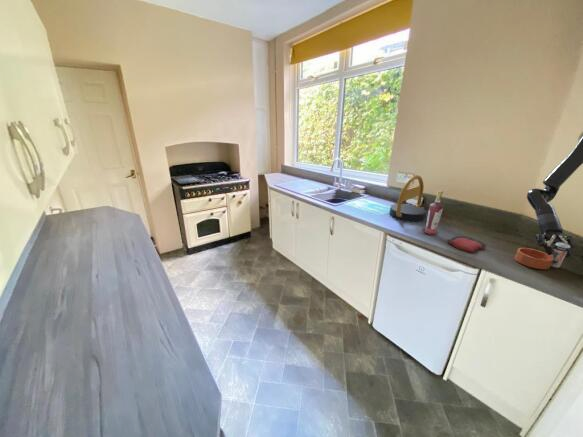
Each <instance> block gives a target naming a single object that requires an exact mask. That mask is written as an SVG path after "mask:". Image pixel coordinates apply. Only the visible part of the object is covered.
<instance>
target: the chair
mask: <svg viewBox="0 0 583 437" xmlns="http://www.w3.org/2000/svg"><path fill="white" fill-rule="evenodd" d="M415 180H418V184H419V185H415V186H412V187H410V185H411V184H412V182H414V181H415ZM424 188H425V186H424V180H423V177H422V176H421V175H419V174H415V175H413V176H411V177H409V179H407V181H406V182H405V184H404V185H403V186H402V189H401V191H400V193H399V197H398V200H397V203H395V204H391V205H390V208H389V212H388V215H389V216H390V217H391V216H392V217H391V218H393V219H395V218H396V219H395V220H398V219H399V220H398V221H401V220H403V221H402V222H407V221H409V222H408V223H421V222H424V221H425V220H424V219H426V216H427V210H426V209H425V208H423V207H420V206H421V204H422V200H423V194H424ZM416 197H417V201H416V205H414V204H408V203H407V204H406V203H403V202H405V201H408V200H411V199H414V198H416ZM423 220H424V221H423ZM420 221H421V222H420Z"/></svg>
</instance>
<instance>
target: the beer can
mask: <svg viewBox="0 0 583 437" xmlns="http://www.w3.org/2000/svg"><path fill="white" fill-rule="evenodd" d="M569 248H570V247H569V245H568V244H566V243H563V242H557V243H554V245H553V247H552V252H553V254H552V255H551V256H552V257H553V258H554V259H553V261H552V264H551V266H550V268H551V267H552V268H555V269H557V268H561V265H562V263H563V261H564V259H565V258H566V256H565V255H566V253H567V251H568V249H569ZM570 249H571V248H570Z"/></svg>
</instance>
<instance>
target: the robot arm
mask: <svg viewBox="0 0 583 437" xmlns="http://www.w3.org/2000/svg"><path fill="white" fill-rule="evenodd" d="M577 140H578V143H577V144H576V145H575V148H574V149H573V150H572V151H571V152H570V154H568V156H566V157H565V159H563V160H562V161H561V162H560V163H559V164H558V165H556V166H555V167H554V168H553V169H552V170H551V172H549V173H548V174H547V176H546V177H545V178H544V179H543V180H542V185H544V186H545V187H544V188H543V189H542V188H532V189H529V190H528V192H527V193H526V199H527V201H528V203H529V204H530V206H531V208H532V209H533V210H534V212H535V213H534V214H535V216H536V220H537V224H538V228H539V231H540V233H538V234H535V239H536V241H537V244H538V245H537V246H539V247H542V248H544V251H545V253H547V255H552V254H553V252H552V250H553V247H552V246H551V245H552V244H555V243H557V242H562V243H566V244H568V245H569V247H570V248H569V249H568V251H567V253H566V255H565V258H567V257H568V258H570V257H572V256H573V252H572V250H571V249H572V248H573V249H574V248H575V247H576V245H575V243H574V239H573V237H572V235H564V233H563V232H564V229H563V227H562V223H561V221H560V218H559V216H558V214H557V212H556V209H555V207H554V205H552V204H551V203H550V202H551V201H553V200H554V199H555V197H556V196H557V194H558V192H559V191H560V188H561V186H562V185H564V184H565V183H566V181H567V180H568V179H569V178H571V176H573V174H574V173H575V172H576V171H577V170H578V169H579V168H580V167H581V166H582V165H583V131H581V133H580V134H579V136H578V138H577Z"/></svg>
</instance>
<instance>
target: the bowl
mask: <svg viewBox="0 0 583 437" xmlns="http://www.w3.org/2000/svg"><path fill="white" fill-rule="evenodd" d="M553 259H554V258H553V257H552V256H551V255H547V253H546V252H544V251H542V250H539V249H535V248H530V247H518V248H517V250H516V253H515V255H514V260H515V261H516V262H518V263H519V264H521V265H523V266H526V267H528V268H531V269H536V270H549V269H550V268H551V264H552V261H553Z"/></svg>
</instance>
